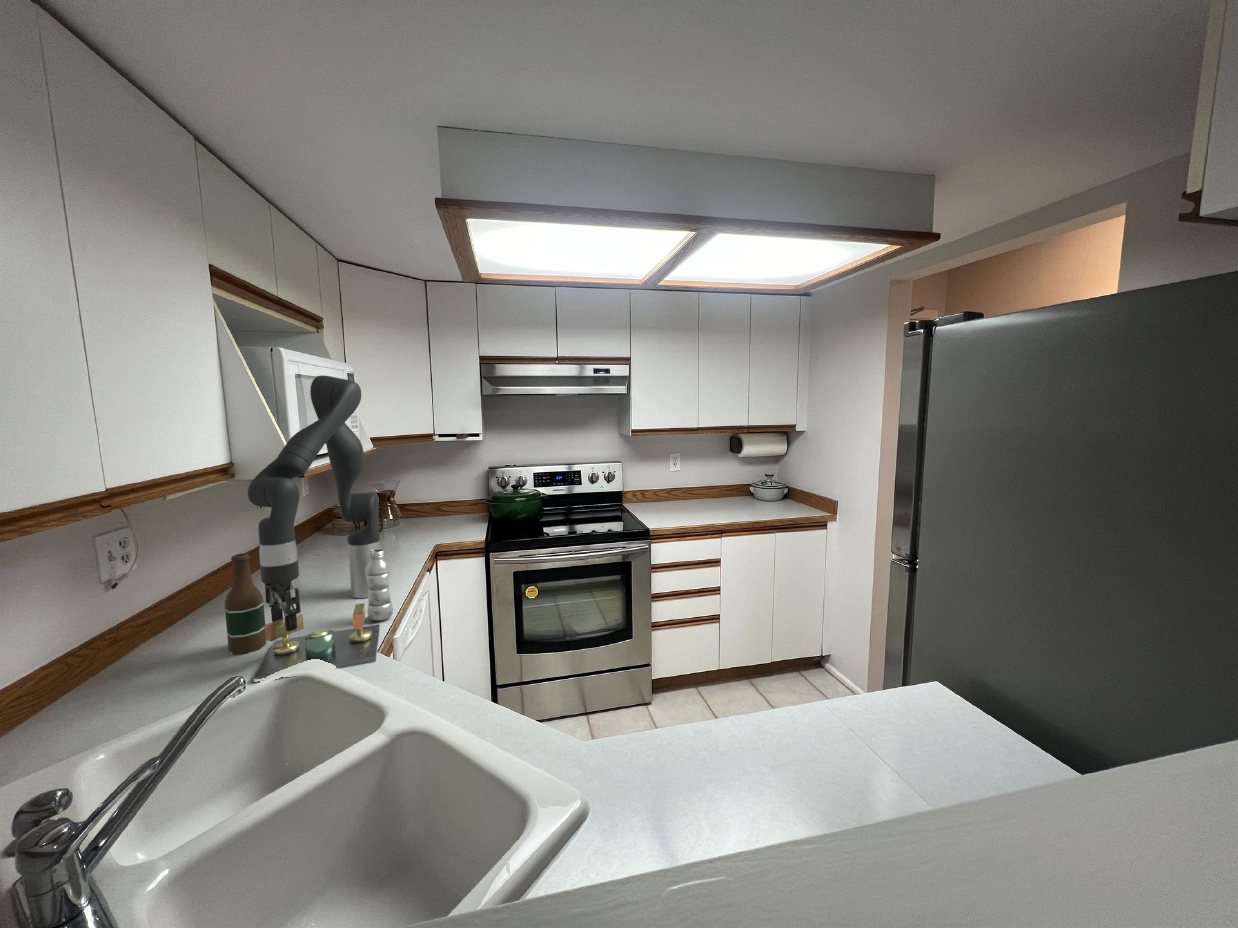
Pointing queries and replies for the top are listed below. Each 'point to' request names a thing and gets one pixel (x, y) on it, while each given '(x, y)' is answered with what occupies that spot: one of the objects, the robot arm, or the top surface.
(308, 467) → the robot arm
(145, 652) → the top surface
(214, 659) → the top surface
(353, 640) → the knob
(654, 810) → the top surface
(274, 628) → the knob
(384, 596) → the plastic bottle
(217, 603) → the top surface
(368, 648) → the base plate
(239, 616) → the beer bottle
